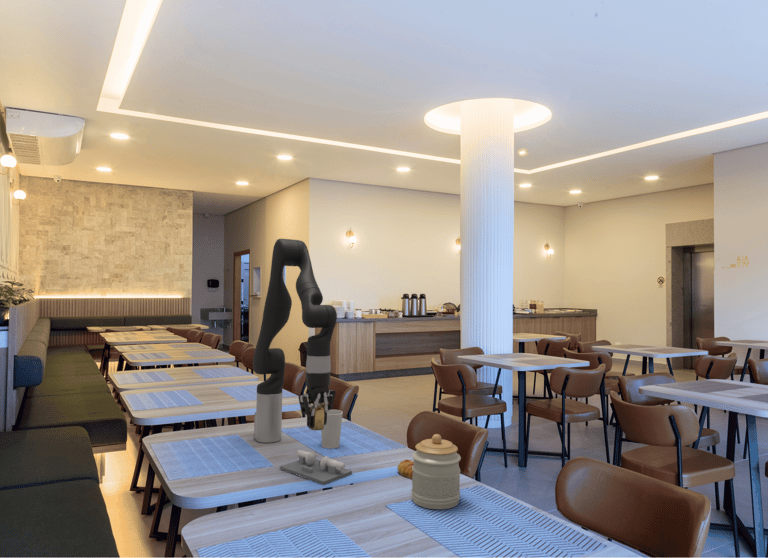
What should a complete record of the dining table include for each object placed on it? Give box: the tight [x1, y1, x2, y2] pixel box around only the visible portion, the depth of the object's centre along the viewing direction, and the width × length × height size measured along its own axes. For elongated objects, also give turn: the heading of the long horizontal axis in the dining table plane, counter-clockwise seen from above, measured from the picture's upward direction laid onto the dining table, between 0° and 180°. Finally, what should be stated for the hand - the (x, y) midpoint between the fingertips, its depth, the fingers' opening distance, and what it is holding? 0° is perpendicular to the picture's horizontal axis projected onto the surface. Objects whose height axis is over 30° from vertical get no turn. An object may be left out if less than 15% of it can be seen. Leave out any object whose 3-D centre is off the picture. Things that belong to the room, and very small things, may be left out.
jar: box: [410, 433, 462, 510], centre depth 144 cm, size 13×13×18 cm
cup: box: [320, 409, 344, 450], centre depth 190 cm, size 8×8×12 cm
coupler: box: [309, 405, 324, 431], centre depth 164 cm, size 4×4×7 cm
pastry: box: [396, 459, 414, 480], centre depth 163 cm, size 9×7×4 cm
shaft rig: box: [279, 449, 353, 486], centre depth 163 cm, size 19×12×5 cm, turn 51°
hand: (316, 426), depth 164 cm, fingers closed on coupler, 4 cm apart
